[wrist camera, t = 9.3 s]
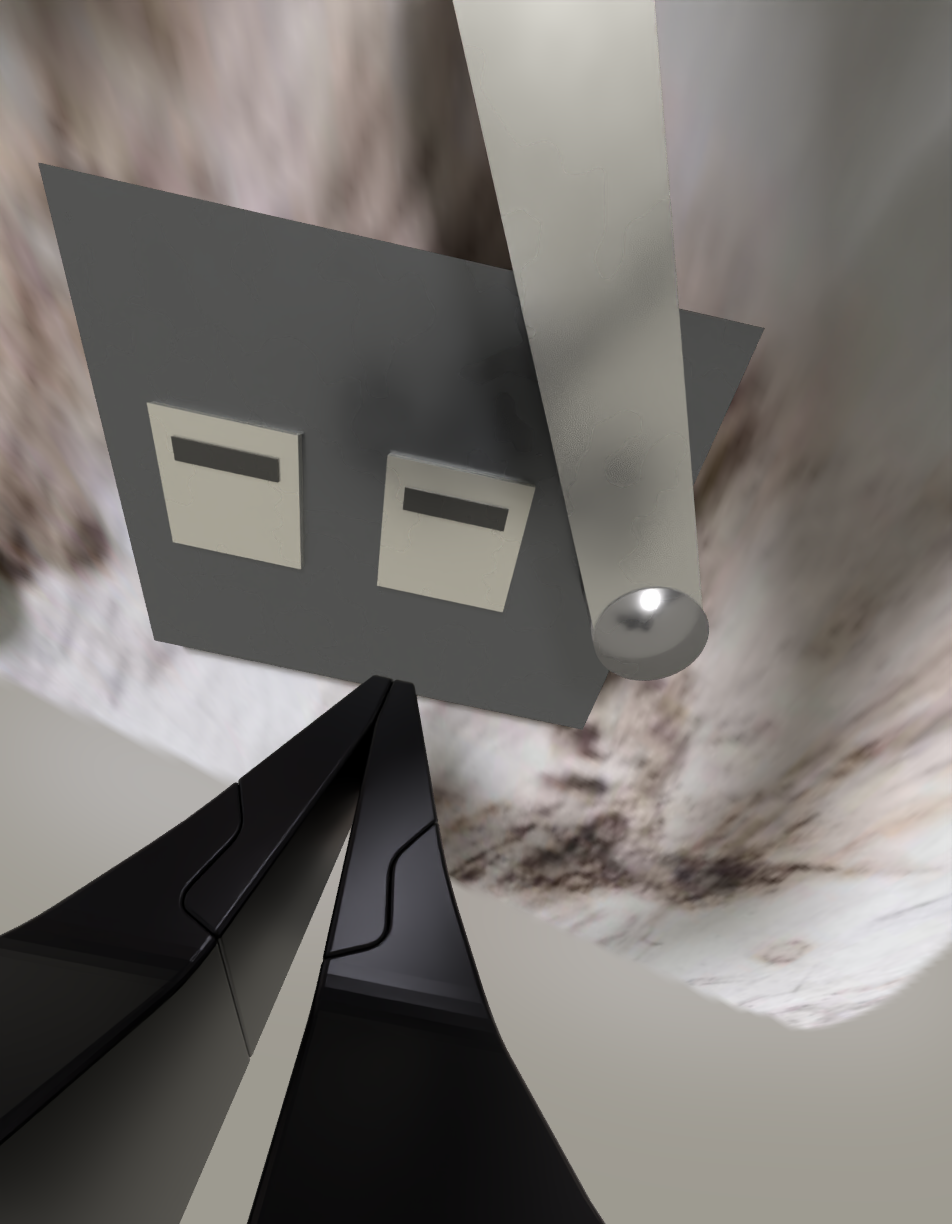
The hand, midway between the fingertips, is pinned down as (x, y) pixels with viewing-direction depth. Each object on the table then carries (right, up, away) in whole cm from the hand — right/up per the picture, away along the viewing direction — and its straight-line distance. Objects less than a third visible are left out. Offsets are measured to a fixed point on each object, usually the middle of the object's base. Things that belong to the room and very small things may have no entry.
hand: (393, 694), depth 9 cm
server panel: (-1, +6, +8) cm, 10 cm away
